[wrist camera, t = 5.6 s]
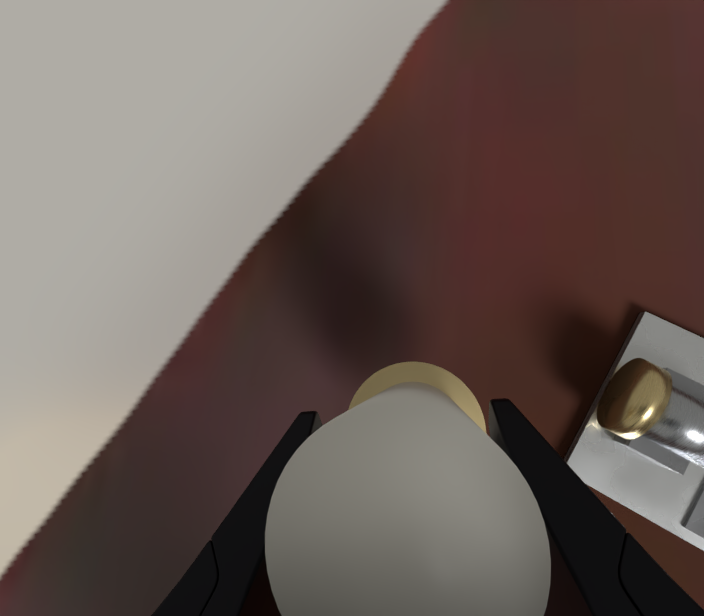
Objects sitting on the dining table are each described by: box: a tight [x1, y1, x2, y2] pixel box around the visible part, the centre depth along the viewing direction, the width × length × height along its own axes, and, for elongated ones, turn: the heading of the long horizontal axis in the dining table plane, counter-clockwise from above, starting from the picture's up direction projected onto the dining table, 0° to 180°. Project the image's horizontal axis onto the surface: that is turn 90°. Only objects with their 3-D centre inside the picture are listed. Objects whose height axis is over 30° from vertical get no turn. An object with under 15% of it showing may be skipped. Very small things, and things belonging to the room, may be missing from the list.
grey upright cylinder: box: [265, 362, 551, 616], centre depth 12 cm, size 6×6×12 cm
